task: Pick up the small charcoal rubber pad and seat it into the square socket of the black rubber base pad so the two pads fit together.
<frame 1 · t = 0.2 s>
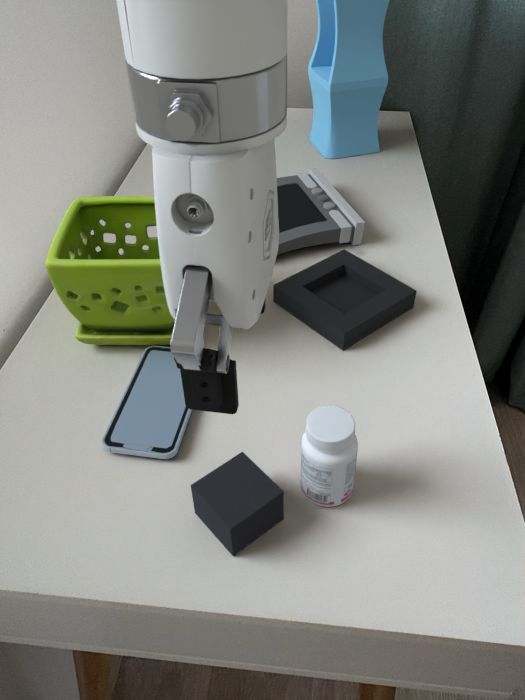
hand: (229, 355, 42), 19 cm above the table, tool pointing down, fingers open, 9 cm apart
pad: (239, 516, 54), on the table
vase: (342, 145, 110), on the table
game console: (224, 136, 114), on the table
flower pot: (140, 320, 75), on the table
alarm clock: (285, 225, 91), on the table
smartphone: (160, 402, 65), on the table
pill bottle: (326, 487, 56), on the table
base pad: (342, 304, 76), on the table
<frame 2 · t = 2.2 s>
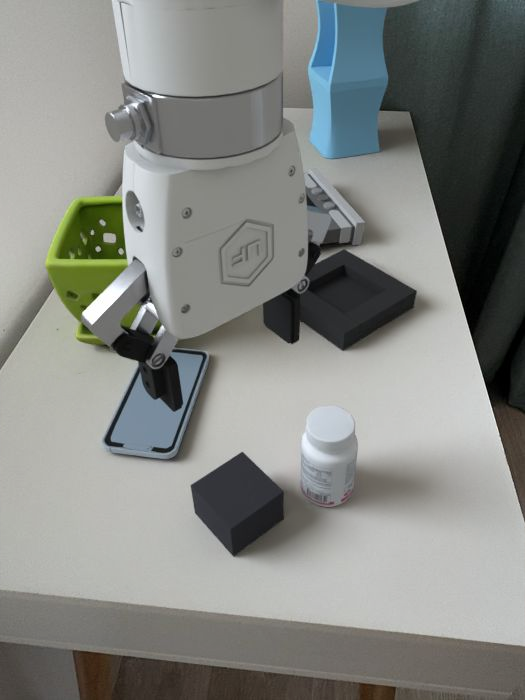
hand: (226, 363, 42), 18 cm above the table, tool pointing down, fingers open, 9 cm apart
nothing on the table moved.
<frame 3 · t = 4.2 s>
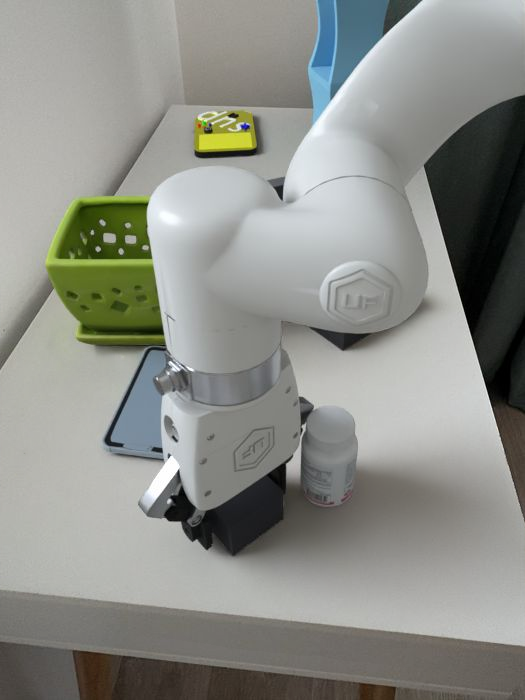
hand: (236, 509, 54), 1 cm above the table, tool pointing down, fingers open, 7 cm apart
nothing on the table moved.
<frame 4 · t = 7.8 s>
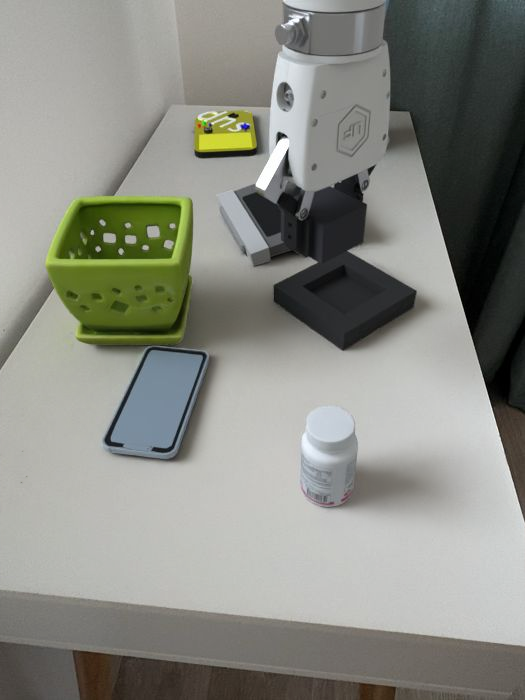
hand: (322, 236, 59), 15 cm above the table, tool pointing down, fingers closed on pad, 5 cm apart
pad: (321, 241, 59), point 15 cm above the table, touching gripper
everything else where it was.
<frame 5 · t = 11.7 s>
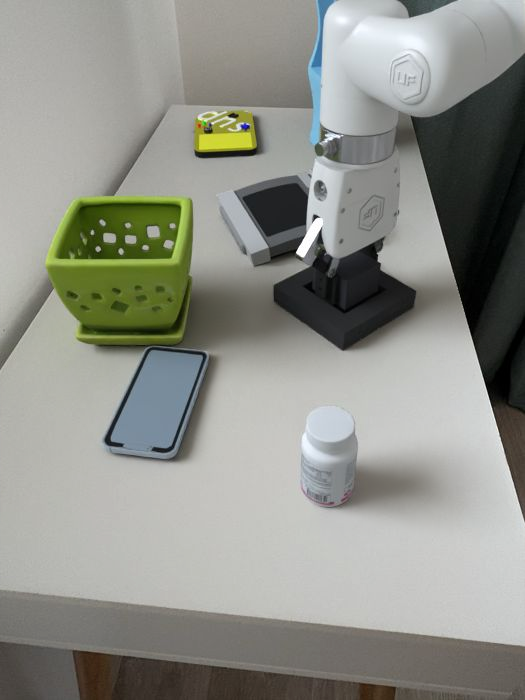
hand: (345, 286, 74), 3 cm above the table, tool pointing down, fingers closed on pad, 5 cm apart
pad: (344, 290, 75), point 2 cm above the table, touching gripper
everything else where it was.
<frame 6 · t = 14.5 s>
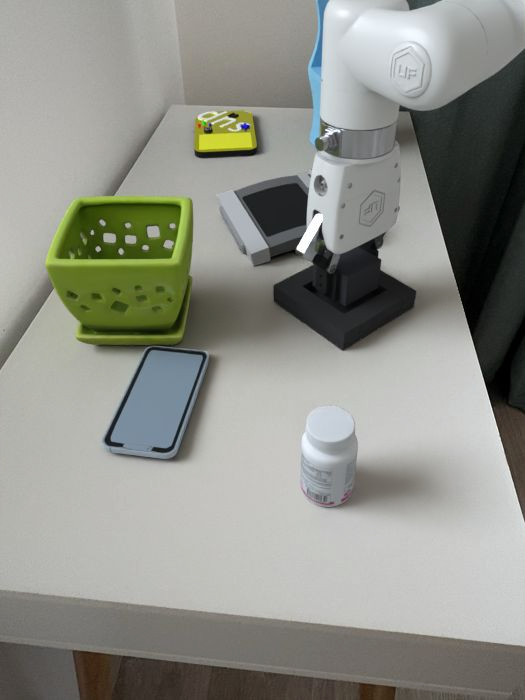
hand: (345, 283, 74), 3 cm above the table, tool pointing down, fingers closed on pad, 5 cm apart
pad: (345, 286, 74), point 3 cm above the table, touching gripper
everything else where it was.
when the fingers open (3 cm above the table, at t = 17.1 s): pad drops 2 cm, resting on base pad.
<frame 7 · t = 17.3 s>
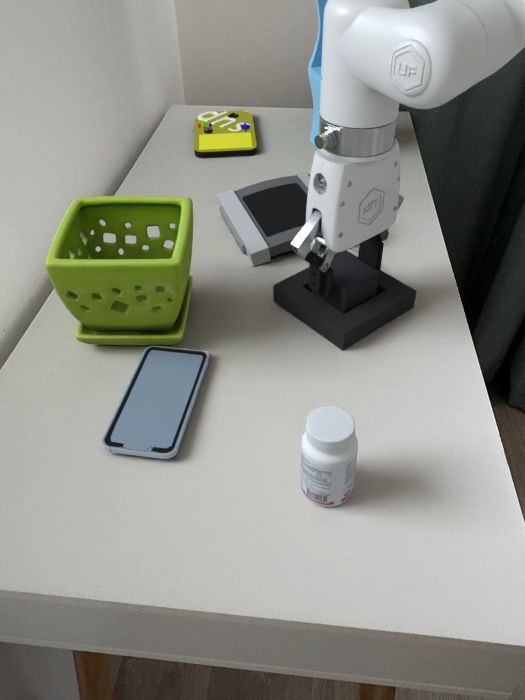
hand: (345, 279, 74), 4 cm above the table, tool pointing down, fingers open, 7 cm apart
pad: (343, 297, 75), point 1 cm above the table, touching base pad
everything else where it was.
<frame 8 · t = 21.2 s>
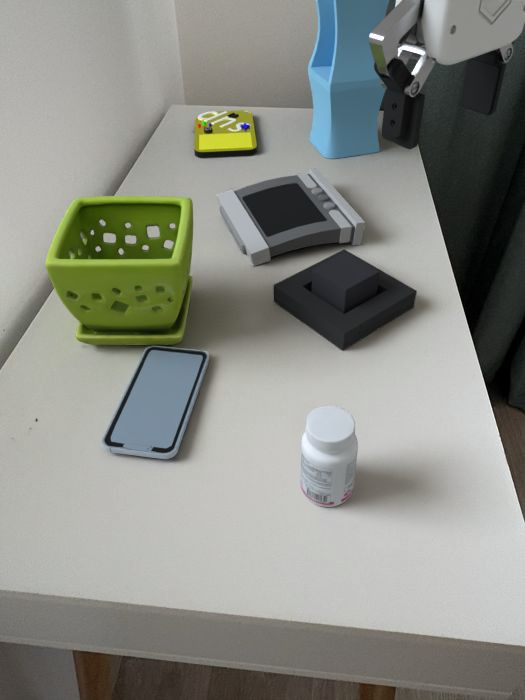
hand: (439, 125, 50), 26 cm above the table, tool pointing down, fingers open, 9 cm apart
nothing on the table moved.
at the end: pad 0.0 cm off-centre on the base pad, point 1.0 cm above the base pad's base; pad tilted 0°; the gripper is holding nothing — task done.
